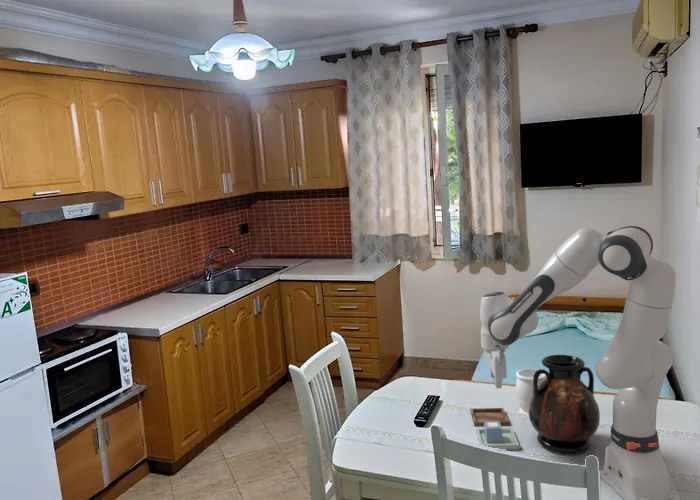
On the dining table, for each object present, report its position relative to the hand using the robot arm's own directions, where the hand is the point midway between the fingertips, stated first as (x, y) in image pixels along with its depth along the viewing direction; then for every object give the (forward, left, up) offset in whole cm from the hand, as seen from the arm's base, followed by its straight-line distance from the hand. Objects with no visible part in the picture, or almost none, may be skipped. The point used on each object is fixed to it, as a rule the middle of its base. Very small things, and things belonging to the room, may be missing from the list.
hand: (496, 382), depth 190 cm
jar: (+21, -16, -20) cm, 33 cm away
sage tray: (-1, 0, -20) cm, 20 cm away
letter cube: (-1, +1, -20) cm, 20 cm away
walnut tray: (+15, 0, -20) cm, 25 cm away
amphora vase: (-3, -21, -20) cm, 29 cm away
